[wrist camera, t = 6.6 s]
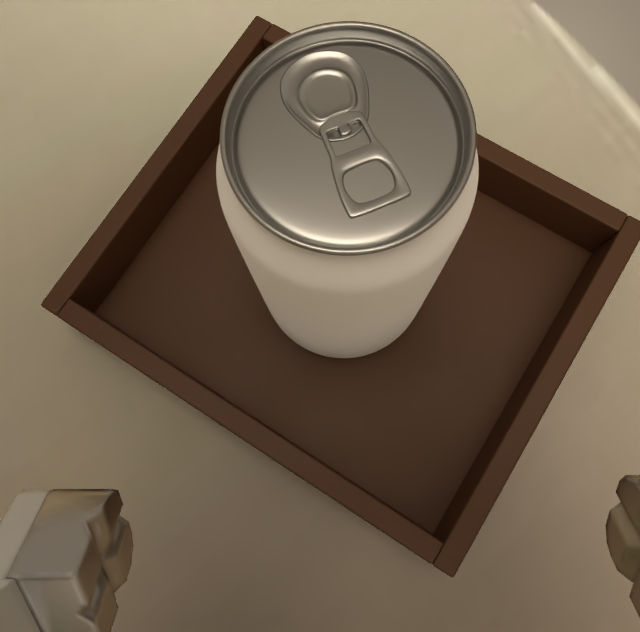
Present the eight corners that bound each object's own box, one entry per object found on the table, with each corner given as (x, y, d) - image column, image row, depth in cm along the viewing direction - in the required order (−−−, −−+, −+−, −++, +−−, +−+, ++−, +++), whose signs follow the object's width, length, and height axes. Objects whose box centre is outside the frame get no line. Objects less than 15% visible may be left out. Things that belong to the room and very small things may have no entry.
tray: (71, 320, 25) (38, 304, 22) (264, 57, 28) (256, 14, 25) (439, 563, 23) (453, 578, 20) (614, 249, 25) (648, 224, 22)
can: (382, 187, 26) (419, -36, 14) (448, 323, 24) (551, 203, 13) (242, 244, 25) (158, 65, 14) (300, 385, 24) (263, 322, 12)
